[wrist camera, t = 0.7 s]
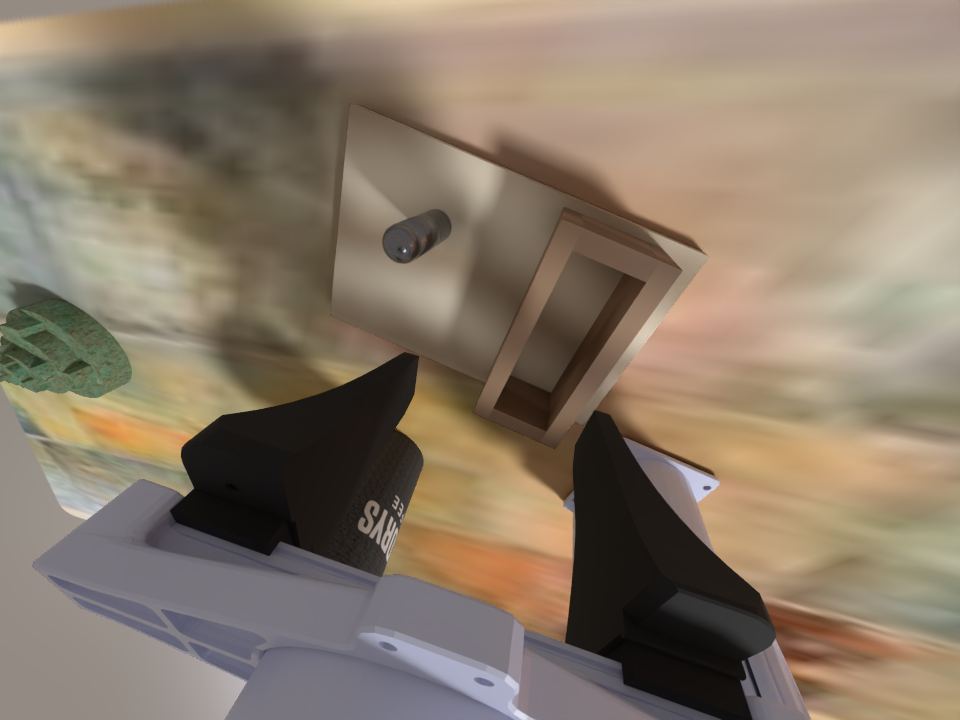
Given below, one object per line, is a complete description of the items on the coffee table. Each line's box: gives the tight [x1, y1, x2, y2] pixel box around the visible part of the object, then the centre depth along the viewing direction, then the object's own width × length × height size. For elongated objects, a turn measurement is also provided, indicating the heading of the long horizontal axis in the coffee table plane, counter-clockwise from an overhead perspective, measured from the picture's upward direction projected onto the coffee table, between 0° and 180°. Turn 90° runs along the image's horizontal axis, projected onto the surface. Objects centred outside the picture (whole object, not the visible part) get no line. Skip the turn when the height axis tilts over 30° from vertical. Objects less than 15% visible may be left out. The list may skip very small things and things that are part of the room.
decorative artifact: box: [0, 299, 132, 398], centre depth 33 cm, size 10×7×10 cm
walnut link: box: [473, 207, 683, 449], centre depth 19 cm, size 12×6×4 cm, turn 161°
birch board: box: [330, 104, 710, 425], centre depth 21 cm, size 13×20×1 cm, turn 71°
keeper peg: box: [382, 209, 452, 264], centre depth 17 cm, size 2×2×6 cm
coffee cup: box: [325, 431, 423, 577], centre depth 26 cm, size 10×10×15 cm
